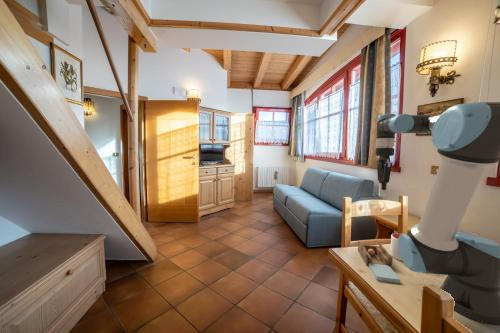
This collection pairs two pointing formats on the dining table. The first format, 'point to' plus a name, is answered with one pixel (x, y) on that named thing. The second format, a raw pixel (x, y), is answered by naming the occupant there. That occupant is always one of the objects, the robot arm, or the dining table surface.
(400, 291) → the dining table surface
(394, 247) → the cup
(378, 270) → the cover slab
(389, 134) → the robot arm
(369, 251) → the ball
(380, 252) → the walnut box
